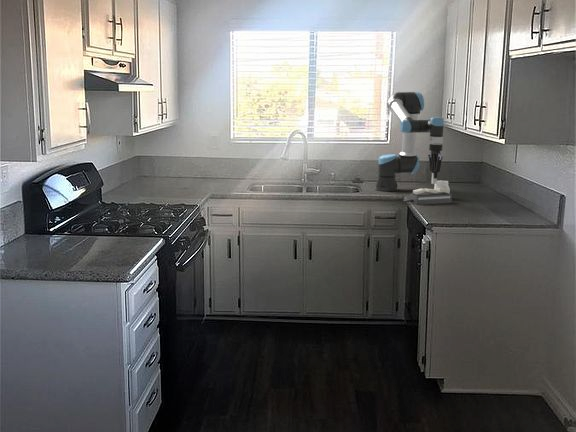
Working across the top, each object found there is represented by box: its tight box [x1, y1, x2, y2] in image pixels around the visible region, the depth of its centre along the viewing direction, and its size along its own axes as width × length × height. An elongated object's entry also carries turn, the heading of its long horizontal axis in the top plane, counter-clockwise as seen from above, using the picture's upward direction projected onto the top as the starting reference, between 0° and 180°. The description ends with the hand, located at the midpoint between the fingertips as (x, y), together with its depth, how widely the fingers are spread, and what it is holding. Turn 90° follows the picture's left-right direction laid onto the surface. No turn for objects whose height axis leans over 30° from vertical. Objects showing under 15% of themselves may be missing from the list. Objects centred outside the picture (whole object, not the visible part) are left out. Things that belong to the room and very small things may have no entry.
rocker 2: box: [424, 187, 438, 193], centre depth 383 cm, size 5×6×2 cm
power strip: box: [402, 192, 453, 206], centre depth 383 cm, size 9×29×5 cm, turn 106°
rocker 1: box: [412, 187, 427, 194], centre depth 381 cm, size 5×6×2 cm
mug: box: [433, 179, 451, 194], centre depth 399 cm, size 12×8×10 cm
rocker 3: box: [436, 188, 449, 193], centre depth 386 cm, size 5×6×2 cm
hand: (434, 183), depth 383 cm, fingers closed
